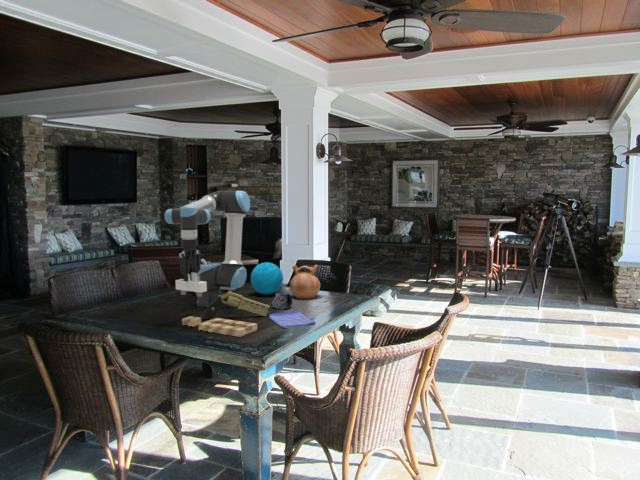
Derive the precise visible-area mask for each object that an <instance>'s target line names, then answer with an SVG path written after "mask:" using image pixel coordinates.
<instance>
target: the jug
mask: <svg viewBox="0 0 640 480" xmlns="http://www.w3.org/2000/svg"><path fill="white" fill-rule="evenodd" d="M317 267H318V265H317V264H315V265H313V266H308V265H302V266H299V267H298V266H297V264H295V265H293V266H292V270H293V271H294V272H293V273H294V275H293V277H292V279H291V280H290V282H289V290H290V291H291V293H292V295H293V296H294V298H296V299H298V300H311V299H314V298H316V297H317V295H318V293H319V292H320V289H321V282H320V280H319V278H318V277H317V276H316V275H315V272H316V271H317ZM303 269H306V270H307V271H301V270H303Z"/></svg>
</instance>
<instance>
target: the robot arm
mask: <svg viewBox="0 0 640 480" xmlns="http://www.w3.org/2000/svg"><path fill="white" fill-rule="evenodd" d="M250 210H251V199H250V196H249V194H248V193H247V192H246V191H244V190H218V191H214V192H211V193H209V194H206V195H204V196H202V198H200V199H198V200H195V201H193V202H191V203H188V204H186V205H183V206H181V207H178V208H168V209H167V210H166V211H165V213H164V220H165V222H166V223H167V224H170V225H180V238H181V240H180V241H181V247H182V252H180V253H178V258H179V259H178V260H179V272H180V274H182V275H183V279H184V281H185V288H190V280H195V281H197V273H199V281H205V282H207V291H205V292H202V297H197V300H196V306H197V307H200V308H208V306H209V304H210V303H211V302H213V301H214V300H216V298H217V297H218V295H220V294H223V292H222V289H221V287H228V288H236V289H239V288H240V289H241V288H242V287H243V286H244V284H245V283H246V280H247V277H248V276H247V275H248V274H247V268H245V267H244V264H243V262H242V259H241V258H242V257H241V256H242V241H243V240H242V239H243V237H242V236H243V222H244V220H243V219H244V218H245V217H246V216H247V215H246V214H247V213H248V212H249V211H250ZM212 212H224V215H225V217H226V218H227V219H226V235H225V236H226V237H225V250H224V251H225V252H224V253H225V255H224V260H223V261H222V262H221V264H220V263H219V262H216V263H215V262H213V263H212V264H208V263H207V265H202V266H200V264H201V255H202V254H201V253H202V251H201V250H198V248H197V247H198V246H199V245H198V243H199V241H198V226H200V225H206V224H207V223H209V222H210V221H211V218H212V217H211V216H212V215H211V213H212ZM190 264H191V270H192V272H191V273H190ZM189 273H190V274H189Z"/></svg>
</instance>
